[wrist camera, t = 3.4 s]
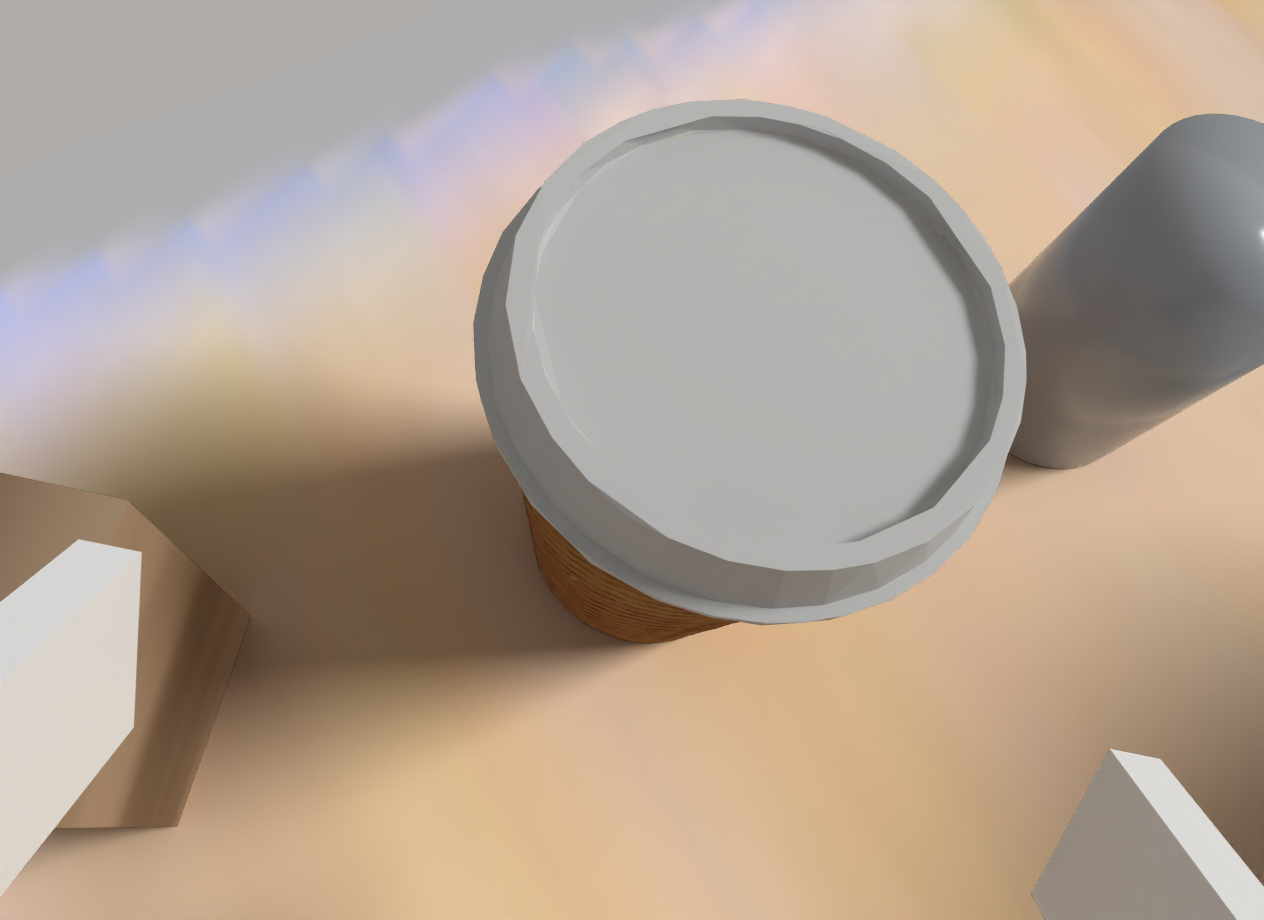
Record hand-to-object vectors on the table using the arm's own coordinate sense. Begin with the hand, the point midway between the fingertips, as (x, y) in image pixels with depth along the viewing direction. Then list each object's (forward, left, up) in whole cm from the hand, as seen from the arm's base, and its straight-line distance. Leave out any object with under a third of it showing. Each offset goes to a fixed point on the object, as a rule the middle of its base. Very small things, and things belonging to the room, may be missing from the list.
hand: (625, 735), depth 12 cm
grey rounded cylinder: (-13, -15, -11) cm, 23 cm away
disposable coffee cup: (-1, -7, -12) cm, 13 cm away
